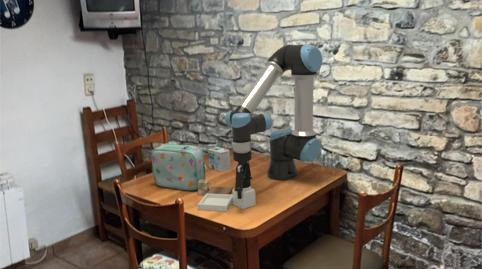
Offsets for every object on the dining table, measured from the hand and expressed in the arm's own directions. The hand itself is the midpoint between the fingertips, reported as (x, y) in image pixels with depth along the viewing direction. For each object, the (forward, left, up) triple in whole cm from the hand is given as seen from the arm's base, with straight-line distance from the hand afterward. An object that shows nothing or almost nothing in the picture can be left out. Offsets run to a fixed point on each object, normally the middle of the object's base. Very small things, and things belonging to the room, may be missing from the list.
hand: (244, 199), depth 192 cm
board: (+14, -11, -3) cm, 18 cm away
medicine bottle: (0, 0, -3) cm, 3 cm away
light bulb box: (+24, -47, -3) cm, 53 cm away
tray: (+12, +1, -2) cm, 12 cm away
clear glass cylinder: (+21, -11, -2) cm, 24 cm away
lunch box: (+35, -18, -3) cm, 40 cm away
